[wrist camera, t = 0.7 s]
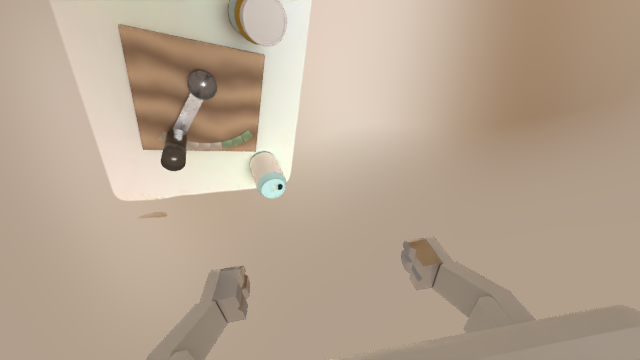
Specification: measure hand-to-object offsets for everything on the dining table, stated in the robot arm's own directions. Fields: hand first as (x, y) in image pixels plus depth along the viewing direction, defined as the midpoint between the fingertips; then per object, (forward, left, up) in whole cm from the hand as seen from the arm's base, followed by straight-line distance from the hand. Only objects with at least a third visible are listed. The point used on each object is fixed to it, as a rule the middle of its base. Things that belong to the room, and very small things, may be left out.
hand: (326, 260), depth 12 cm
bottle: (-9, +3, -48) cm, 49 cm away
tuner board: (+8, -5, -47) cm, 48 cm away
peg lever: (+10, -8, -46) cm, 48 cm away
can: (+23, +9, -48) cm, 54 cm away
